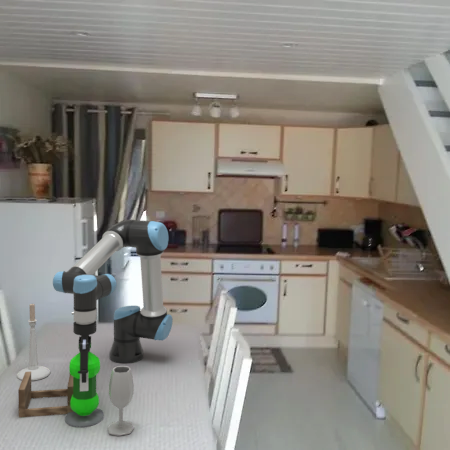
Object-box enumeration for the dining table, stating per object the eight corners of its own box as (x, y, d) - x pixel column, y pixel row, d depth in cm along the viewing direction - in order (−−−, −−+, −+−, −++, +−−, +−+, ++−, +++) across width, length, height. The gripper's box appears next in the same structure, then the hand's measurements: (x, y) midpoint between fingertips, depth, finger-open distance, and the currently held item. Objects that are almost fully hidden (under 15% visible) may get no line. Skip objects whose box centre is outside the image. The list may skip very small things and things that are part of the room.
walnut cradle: (76, 394, 189) (76, 369, 188) (73, 413, 175) (73, 386, 174) (25, 397, 185) (25, 371, 184) (18, 417, 171) (18, 389, 169)
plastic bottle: (74, 404, 177) (74, 336, 174) (103, 405, 177) (104, 338, 174) (64, 418, 167) (64, 347, 164) (95, 420, 167) (95, 348, 164)
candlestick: (19, 369, 210) (17, 300, 206) (51, 367, 213) (50, 298, 209) (14, 382, 197) (12, 308, 194) (48, 379, 200) (46, 306, 197)
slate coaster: (104, 407, 180) (104, 405, 180) (103, 425, 167) (103, 423, 167) (66, 409, 177) (66, 408, 177) (63, 428, 164) (63, 427, 164)
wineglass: (109, 422, 169) (109, 363, 167) (135, 422, 170) (136, 364, 168) (105, 436, 161) (105, 374, 158) (132, 436, 161) (133, 374, 159)
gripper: (75, 311, 178) (75, 370, 181) (70, 333, 156) (71, 399, 159) (97, 310, 180) (96, 369, 183) (95, 332, 158) (95, 398, 161)
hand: (84, 383), depth 171 cm, fingers closed on plastic bottle, 10 cm apart
